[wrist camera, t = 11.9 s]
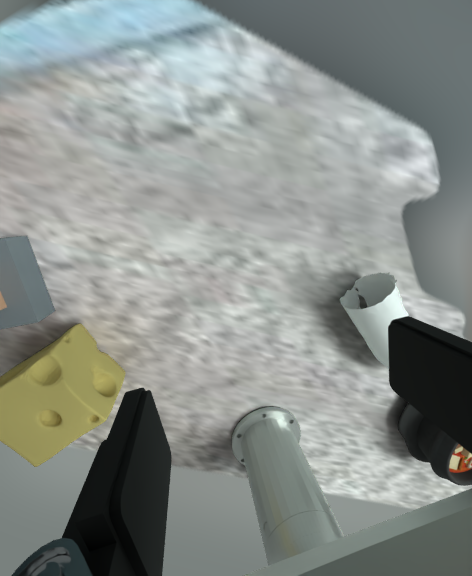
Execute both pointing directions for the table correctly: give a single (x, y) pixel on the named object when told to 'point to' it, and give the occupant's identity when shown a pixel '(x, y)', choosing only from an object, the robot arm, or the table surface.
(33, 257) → the pedestal
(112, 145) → the table surface
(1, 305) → the cube
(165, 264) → the table surface
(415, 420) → the casserole
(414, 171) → the table surface
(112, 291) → the table surface
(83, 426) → the cheese
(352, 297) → the white hollow cylinder
